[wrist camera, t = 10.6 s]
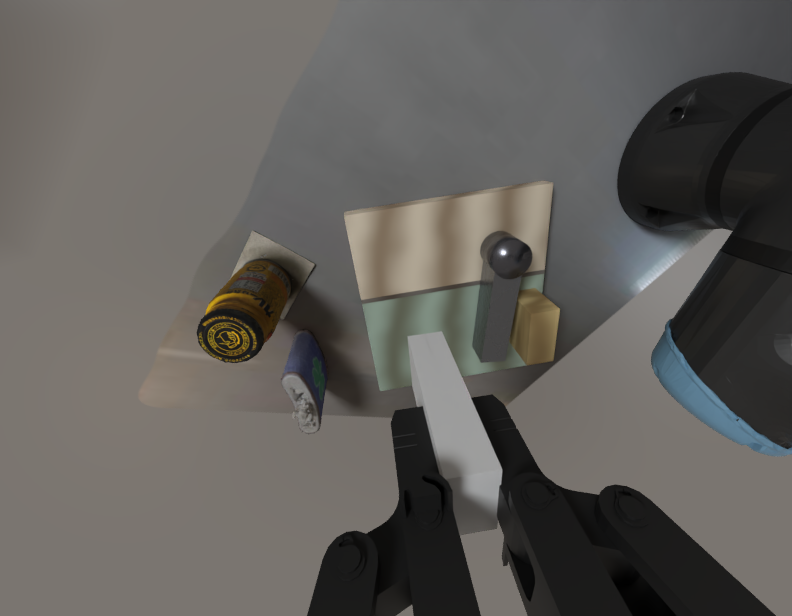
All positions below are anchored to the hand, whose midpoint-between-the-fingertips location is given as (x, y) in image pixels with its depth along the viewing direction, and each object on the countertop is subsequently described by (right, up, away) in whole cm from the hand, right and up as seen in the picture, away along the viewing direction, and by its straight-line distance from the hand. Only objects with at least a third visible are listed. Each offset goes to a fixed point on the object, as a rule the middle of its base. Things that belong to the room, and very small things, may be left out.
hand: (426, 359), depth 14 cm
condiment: (-16, +6, +23) cm, 29 cm away
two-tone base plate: (+6, +4, +26) cm, 27 cm away
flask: (-12, -4, +29) cm, 32 cm away
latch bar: (+10, +4, +24) cm, 26 cm away
